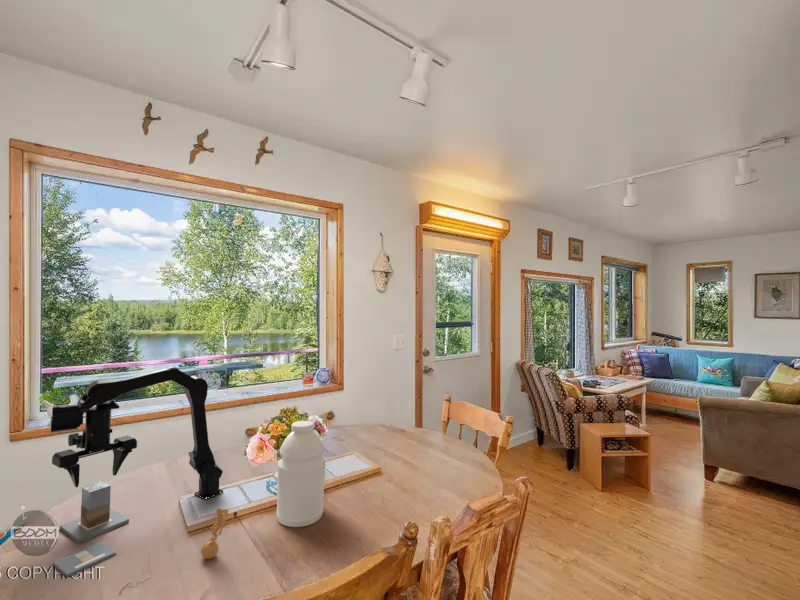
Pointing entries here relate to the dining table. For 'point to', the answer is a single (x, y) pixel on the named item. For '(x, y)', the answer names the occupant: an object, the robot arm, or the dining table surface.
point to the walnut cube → (95, 515)
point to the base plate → (84, 533)
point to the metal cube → (96, 495)
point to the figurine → (214, 535)
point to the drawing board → (83, 559)
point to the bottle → (300, 477)
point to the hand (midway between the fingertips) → (96, 480)
